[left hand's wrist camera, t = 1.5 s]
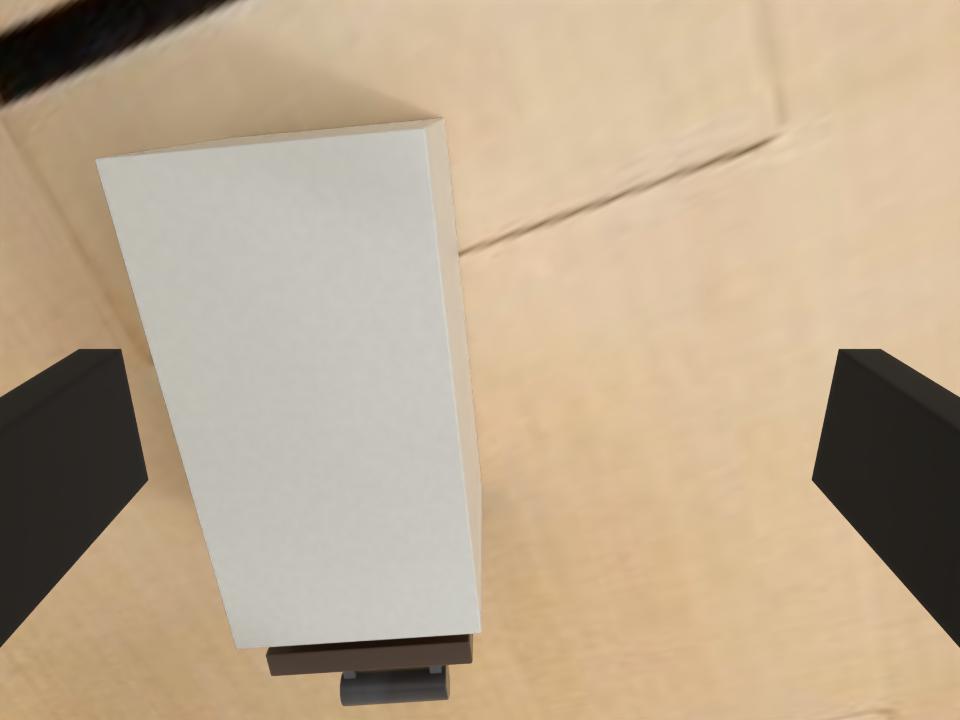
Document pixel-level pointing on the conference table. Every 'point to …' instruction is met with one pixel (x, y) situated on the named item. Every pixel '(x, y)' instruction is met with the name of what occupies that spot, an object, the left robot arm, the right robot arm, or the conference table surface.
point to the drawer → (380, 666)
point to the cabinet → (314, 373)
